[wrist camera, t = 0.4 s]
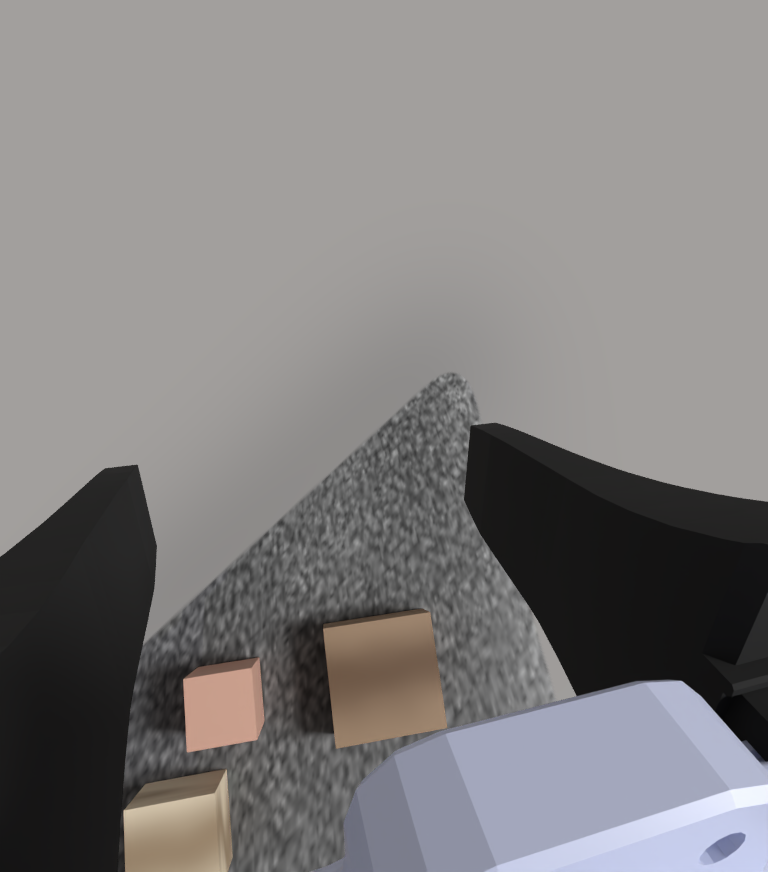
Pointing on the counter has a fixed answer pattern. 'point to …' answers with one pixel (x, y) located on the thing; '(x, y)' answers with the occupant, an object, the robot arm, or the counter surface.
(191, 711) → the terracotta block
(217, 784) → the maple block
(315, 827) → the counter surface
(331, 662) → the walnut base
